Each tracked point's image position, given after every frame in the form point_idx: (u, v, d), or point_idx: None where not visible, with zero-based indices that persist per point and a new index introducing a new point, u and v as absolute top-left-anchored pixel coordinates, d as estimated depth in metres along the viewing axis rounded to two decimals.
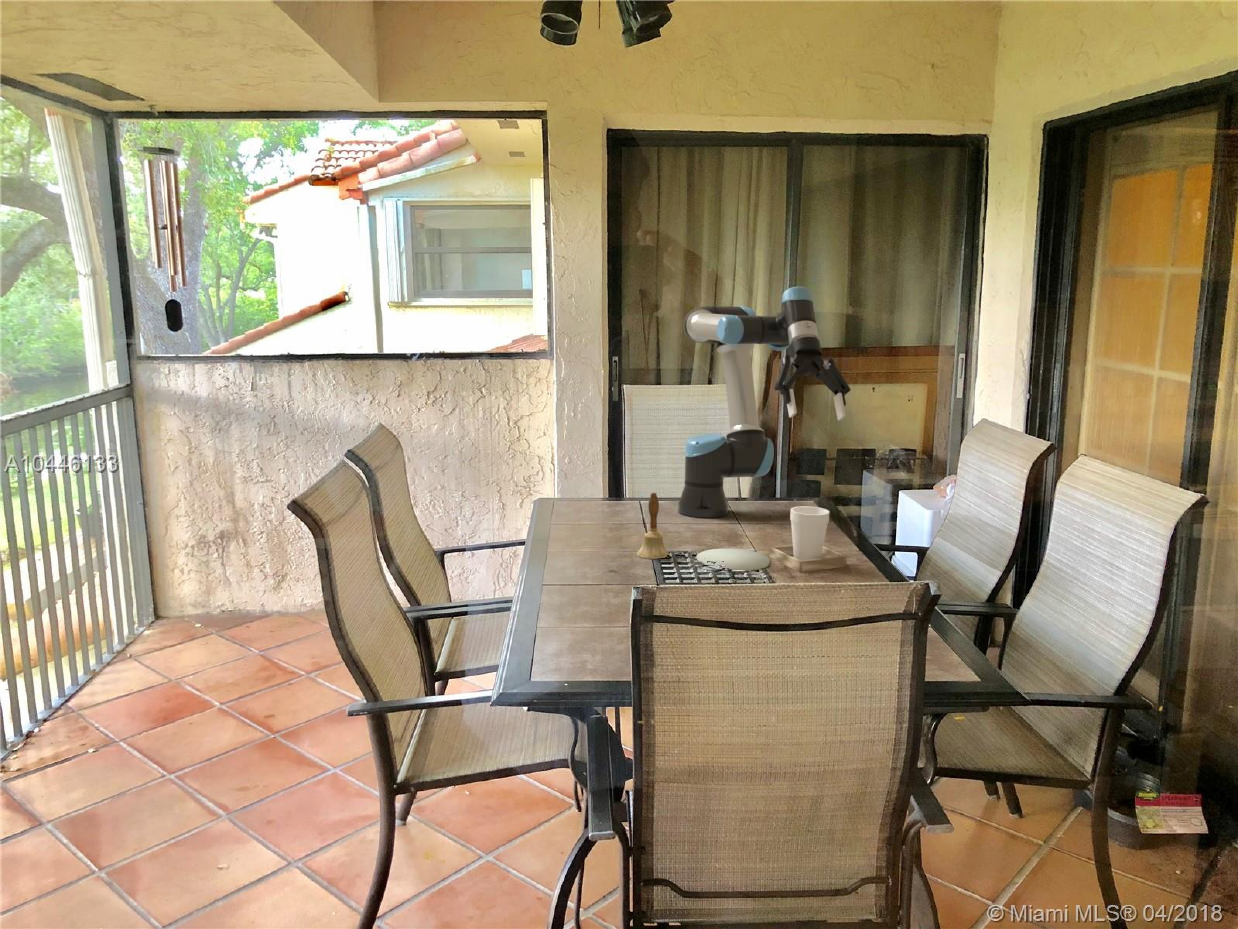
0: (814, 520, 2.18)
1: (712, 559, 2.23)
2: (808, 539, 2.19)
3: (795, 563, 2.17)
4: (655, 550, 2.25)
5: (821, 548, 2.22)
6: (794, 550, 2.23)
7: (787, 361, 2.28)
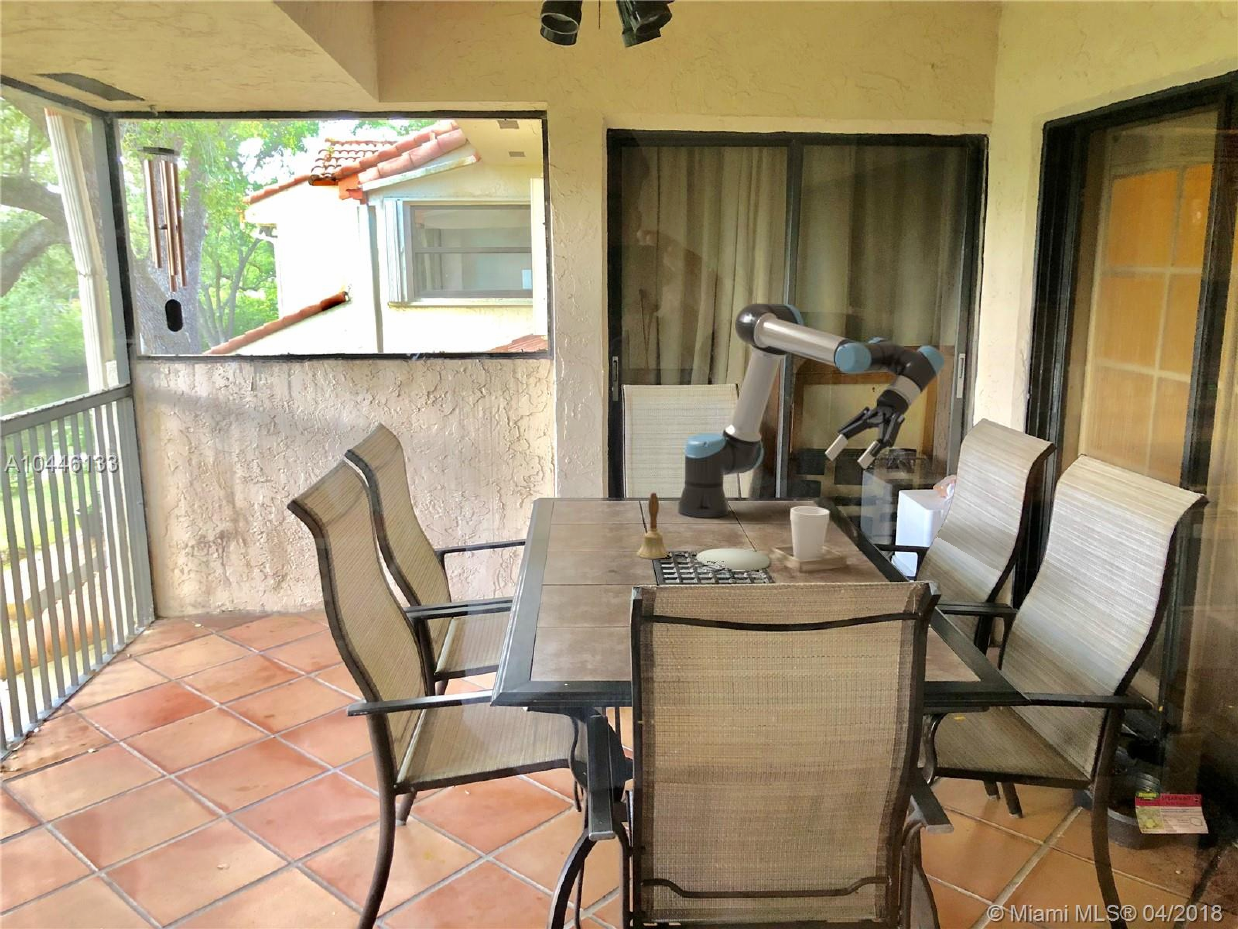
0: (814, 520, 2.18)
1: (712, 559, 2.23)
2: (808, 539, 2.19)
3: (795, 563, 2.17)
4: (655, 550, 2.25)
5: (821, 548, 2.22)
6: (794, 550, 2.23)
7: None
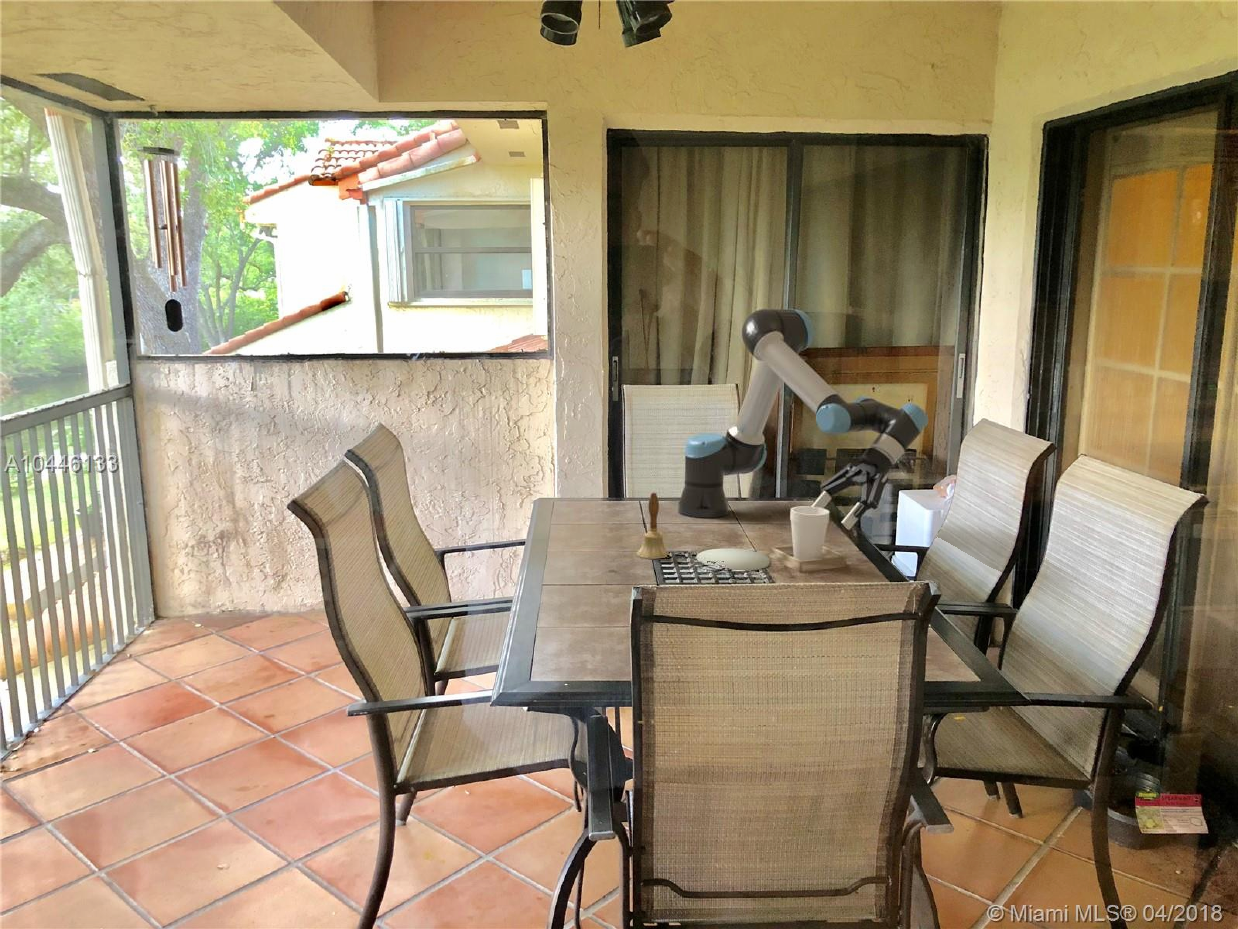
0: (814, 520, 2.18)
1: (712, 559, 2.23)
2: (808, 539, 2.19)
3: (795, 563, 2.17)
4: (655, 550, 2.25)
5: (821, 548, 2.22)
6: (794, 550, 2.23)
7: None
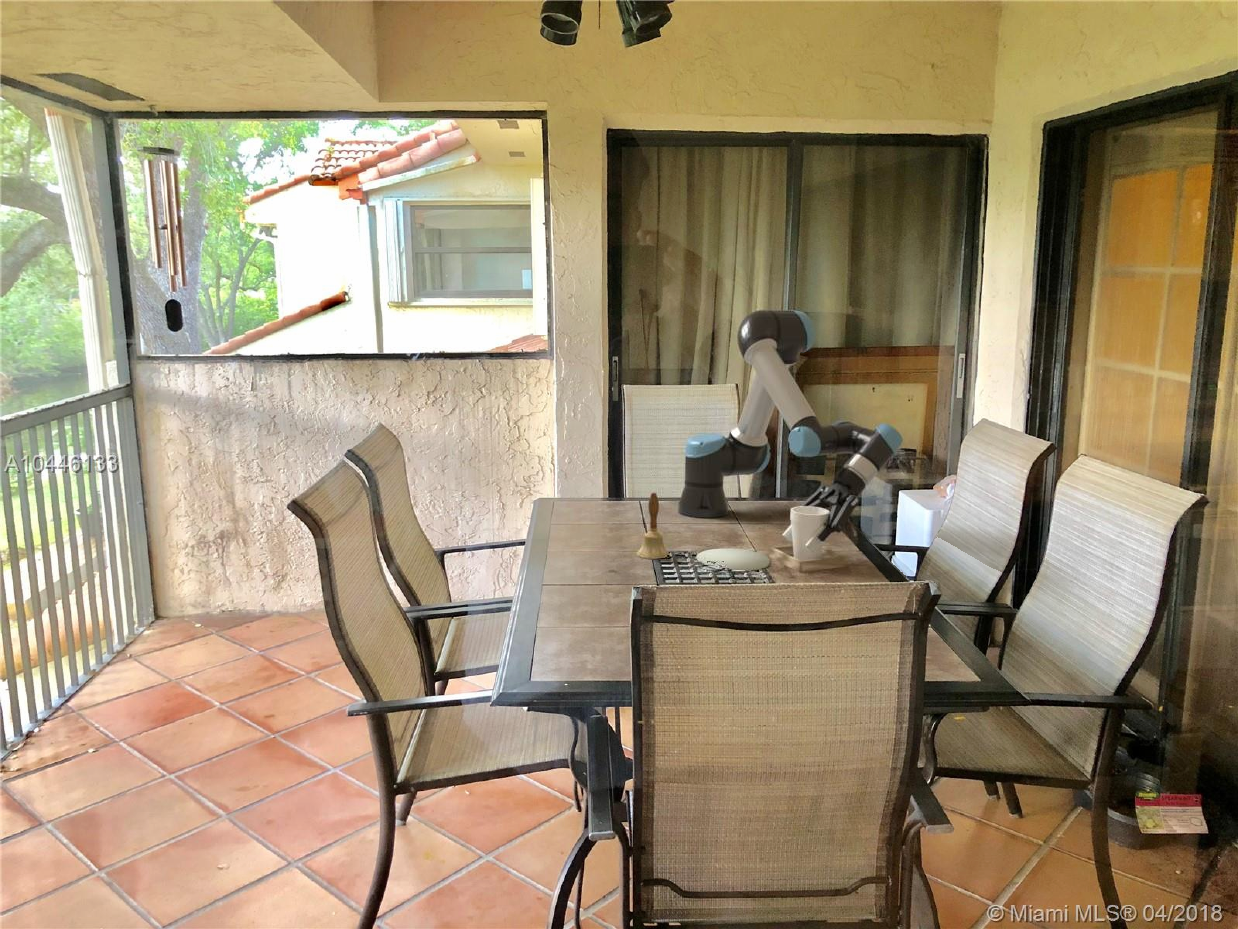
0: (814, 520, 2.18)
1: (712, 559, 2.23)
2: (808, 539, 2.19)
3: (795, 563, 2.17)
4: (655, 550, 2.25)
5: (821, 548, 2.22)
6: (794, 550, 2.23)
7: None
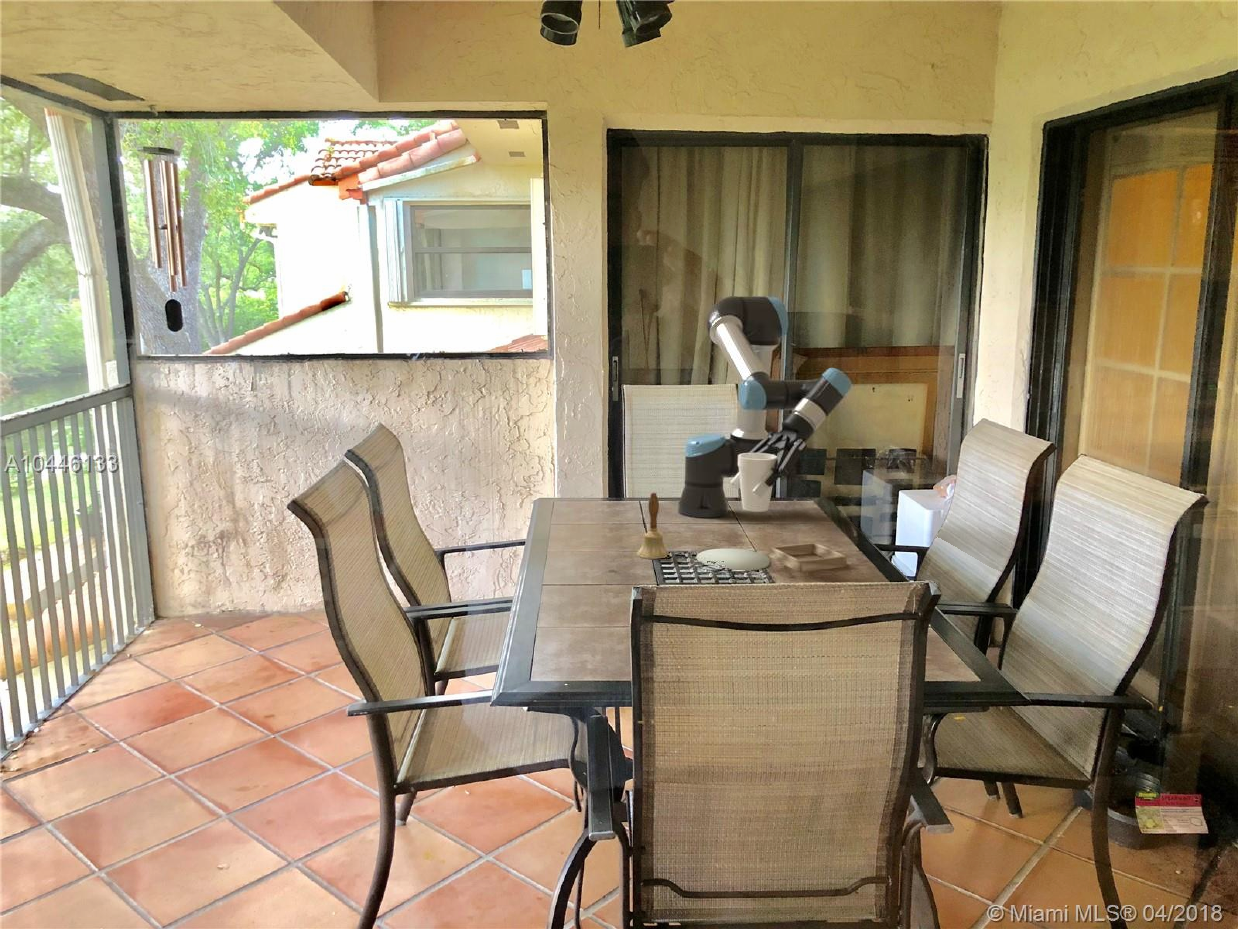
0: (761, 465, 2.14)
1: (712, 559, 2.23)
2: (756, 485, 2.16)
3: (795, 563, 2.17)
4: (655, 550, 2.25)
5: (769, 494, 2.18)
6: (742, 497, 2.19)
7: None
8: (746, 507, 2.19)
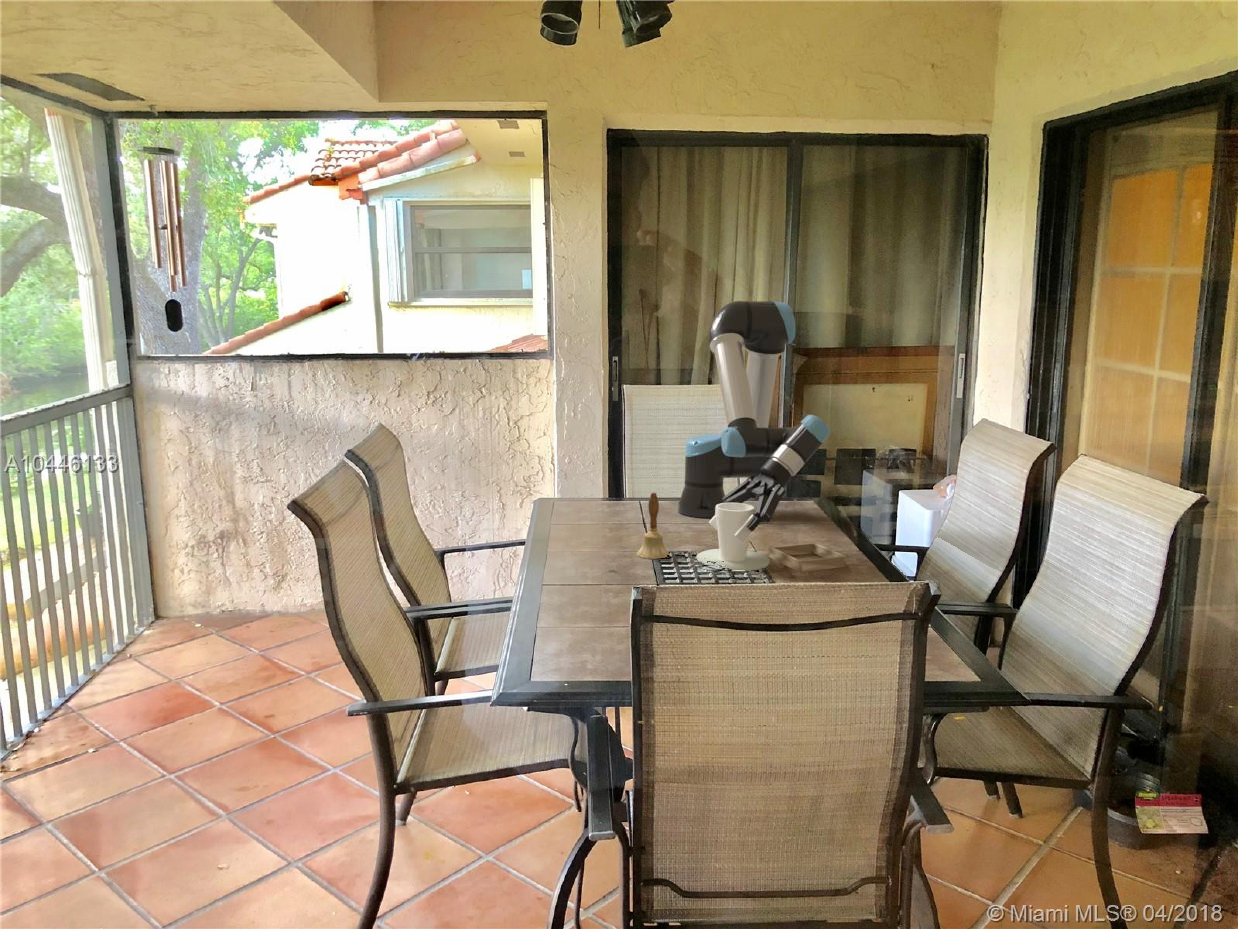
0: (738, 516, 2.17)
1: (712, 559, 2.23)
2: (732, 535, 2.19)
3: (795, 563, 2.17)
4: (655, 550, 2.25)
5: (746, 544, 2.21)
6: (720, 546, 2.23)
7: None
8: (723, 557, 2.22)
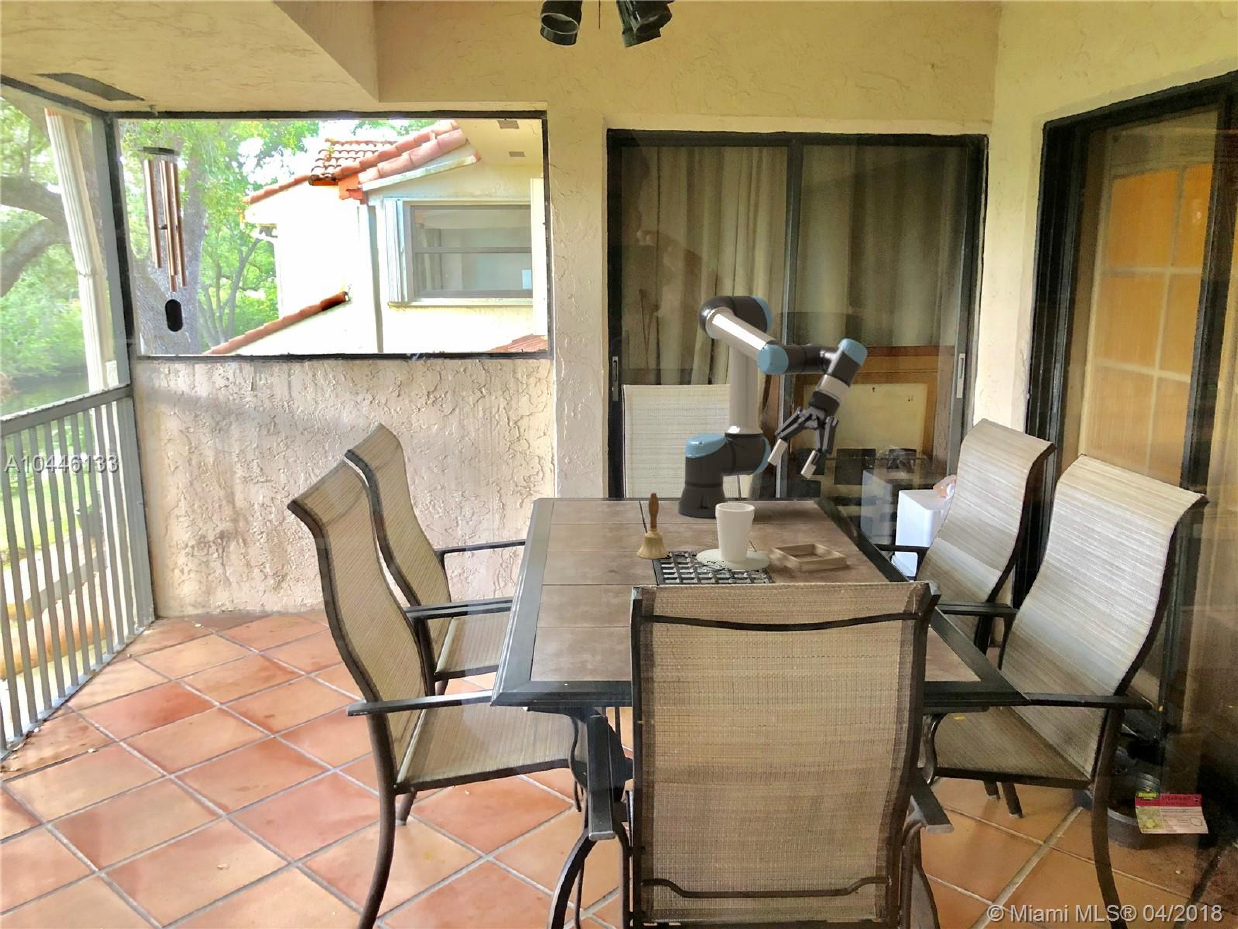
0: (738, 516, 2.17)
1: (712, 559, 2.23)
2: (733, 535, 2.19)
3: (795, 563, 2.17)
4: (655, 550, 2.25)
5: (746, 544, 2.21)
6: (720, 546, 2.23)
7: None
8: (723, 557, 2.22)
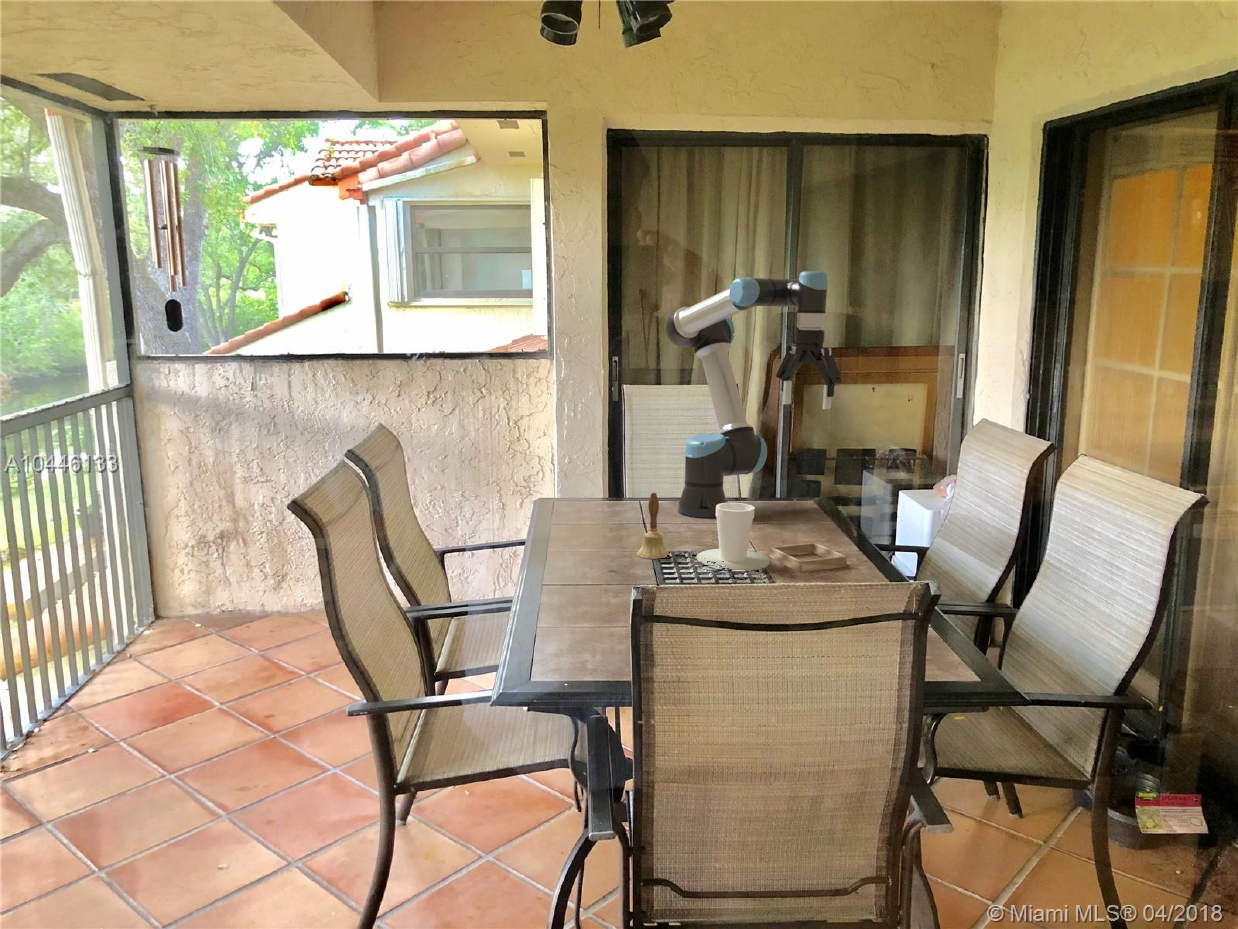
0: (738, 516, 2.17)
1: (712, 559, 2.23)
2: (733, 535, 2.19)
3: (795, 563, 2.17)
4: (655, 550, 2.25)
5: (746, 544, 2.21)
6: (720, 546, 2.23)
7: None
8: (723, 557, 2.22)
